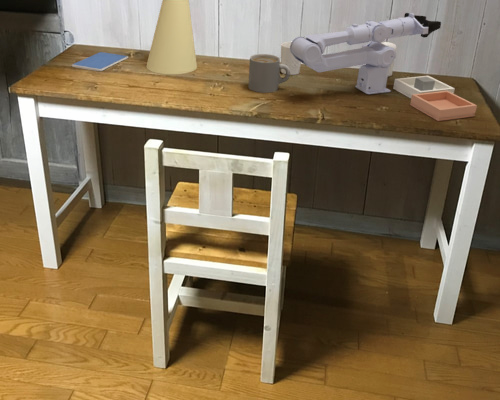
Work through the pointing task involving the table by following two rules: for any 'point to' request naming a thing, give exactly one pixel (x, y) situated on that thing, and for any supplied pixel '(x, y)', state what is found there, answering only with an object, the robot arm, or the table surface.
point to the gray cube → (424, 83)
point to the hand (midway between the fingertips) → (432, 22)
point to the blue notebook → (100, 61)
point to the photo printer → (393, 62)
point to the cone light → (173, 40)
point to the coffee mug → (266, 73)
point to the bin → (443, 105)
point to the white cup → (289, 59)
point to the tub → (408, 89)
